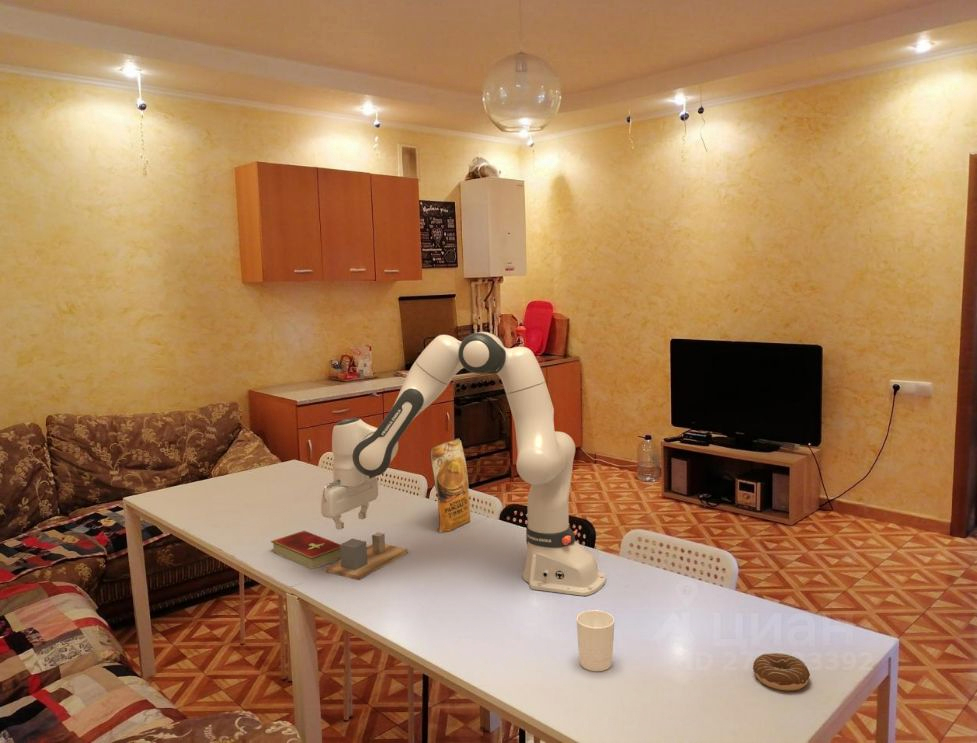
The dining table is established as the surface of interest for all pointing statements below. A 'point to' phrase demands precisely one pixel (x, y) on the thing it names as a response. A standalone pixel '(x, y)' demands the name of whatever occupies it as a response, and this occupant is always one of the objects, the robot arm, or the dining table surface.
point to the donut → (781, 671)
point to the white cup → (595, 639)
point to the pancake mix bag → (451, 485)
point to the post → (378, 543)
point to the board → (369, 562)
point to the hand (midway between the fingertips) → (351, 523)
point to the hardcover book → (307, 549)
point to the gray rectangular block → (353, 554)
